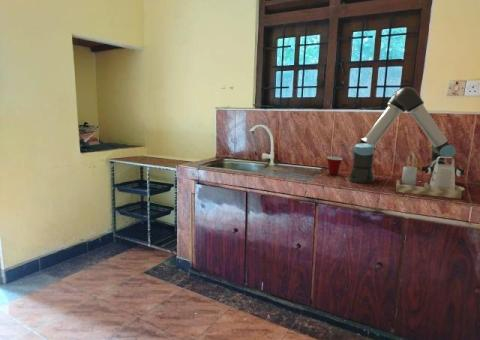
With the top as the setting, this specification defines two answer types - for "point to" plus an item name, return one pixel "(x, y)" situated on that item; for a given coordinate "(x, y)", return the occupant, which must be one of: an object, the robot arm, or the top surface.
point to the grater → (443, 176)
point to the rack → (429, 190)
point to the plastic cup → (334, 164)
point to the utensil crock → (409, 173)
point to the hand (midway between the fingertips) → (444, 173)
